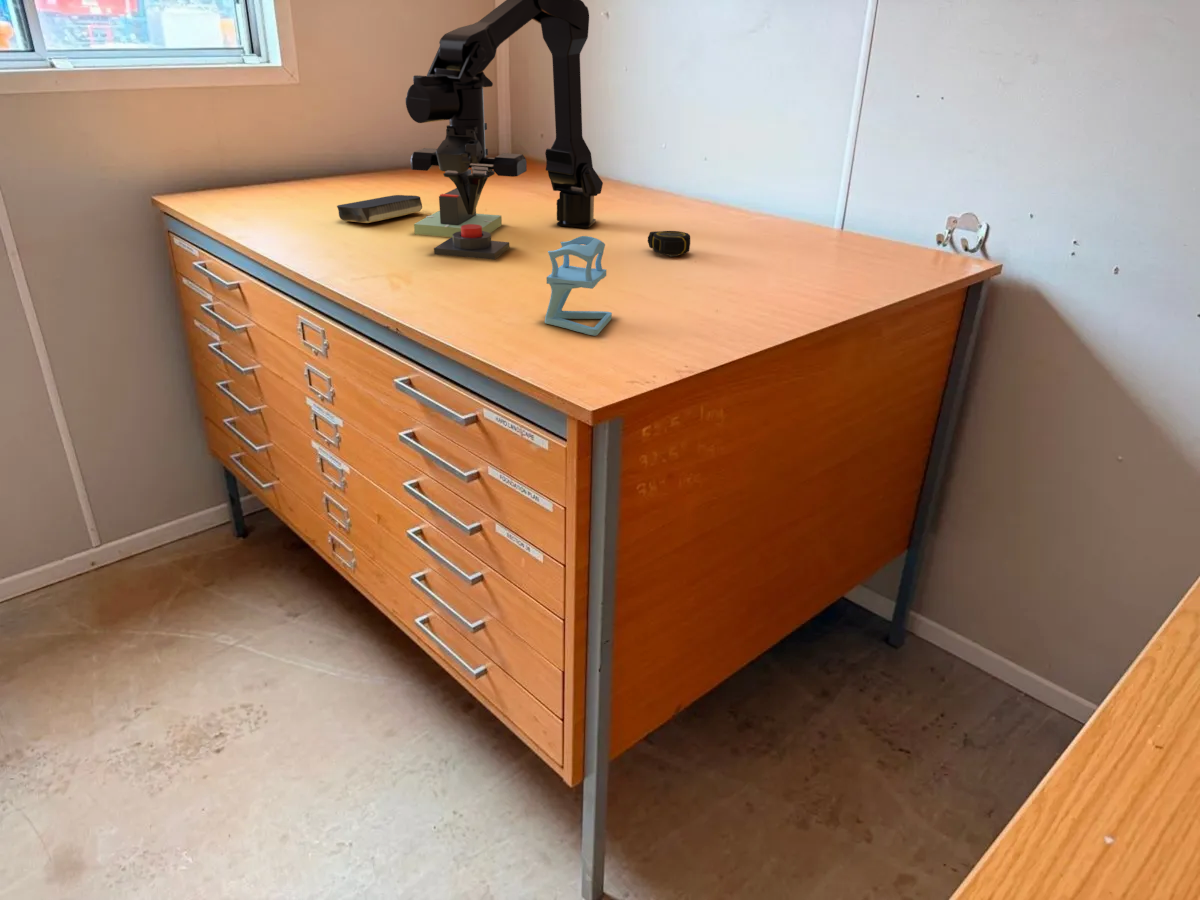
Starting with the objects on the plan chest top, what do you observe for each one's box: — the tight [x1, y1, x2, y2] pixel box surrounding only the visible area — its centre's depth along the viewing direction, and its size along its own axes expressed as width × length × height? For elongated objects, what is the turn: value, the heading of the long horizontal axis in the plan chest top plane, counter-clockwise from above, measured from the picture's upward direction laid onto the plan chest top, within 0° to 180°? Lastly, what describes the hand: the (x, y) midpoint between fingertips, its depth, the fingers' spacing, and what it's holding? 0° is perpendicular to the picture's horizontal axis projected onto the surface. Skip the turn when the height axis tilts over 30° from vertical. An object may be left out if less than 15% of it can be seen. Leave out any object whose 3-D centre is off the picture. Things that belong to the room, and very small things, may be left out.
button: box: [461, 224, 482, 238], centre depth 151 cm, size 4×4×2 cm
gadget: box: [438, 187, 477, 225], centre depth 164 cm, size 9×4×5 cm, turn 166°
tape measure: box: [647, 230, 691, 257], centre depth 154 cm, size 7×7×4 cm
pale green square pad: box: [413, 210, 503, 238], centre depth 166 cm, size 13×13×2 cm
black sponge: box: [336, 194, 423, 224], centre depth 173 cm, size 16×8×4 cm, turn 143°
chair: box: [544, 235, 613, 336], centre depth 118 cm, size 8×8×12 cm
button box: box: [433, 231, 511, 261], centre depth 152 cm, size 11×8×3 cm
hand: (471, 214), depth 150 cm, fingers closed
